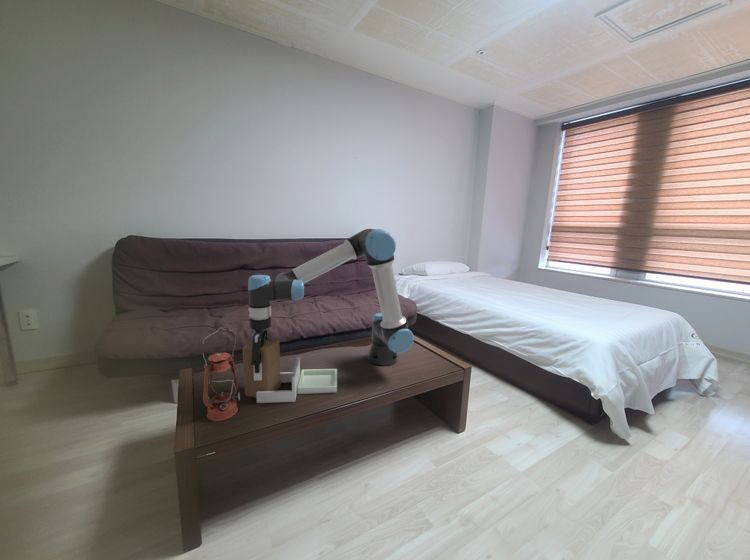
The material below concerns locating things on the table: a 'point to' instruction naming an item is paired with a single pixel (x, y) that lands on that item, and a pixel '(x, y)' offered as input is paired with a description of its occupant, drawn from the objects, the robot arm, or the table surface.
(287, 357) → the table surface
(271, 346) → the wooden block
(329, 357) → the table surface
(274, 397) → the dock
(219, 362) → the lantern
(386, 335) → the robot arm
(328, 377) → the tray
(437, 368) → the table surface
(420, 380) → the table surface
